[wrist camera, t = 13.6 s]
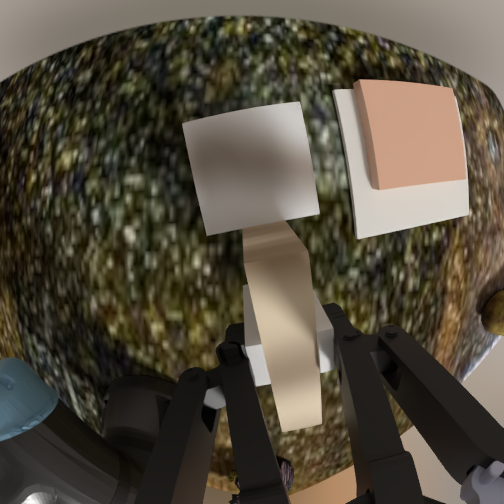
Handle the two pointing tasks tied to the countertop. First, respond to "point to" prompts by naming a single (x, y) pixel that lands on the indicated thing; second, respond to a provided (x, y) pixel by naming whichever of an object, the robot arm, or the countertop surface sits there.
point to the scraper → (267, 236)
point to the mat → (396, 199)
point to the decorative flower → (286, 474)
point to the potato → (494, 314)
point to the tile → (410, 133)
